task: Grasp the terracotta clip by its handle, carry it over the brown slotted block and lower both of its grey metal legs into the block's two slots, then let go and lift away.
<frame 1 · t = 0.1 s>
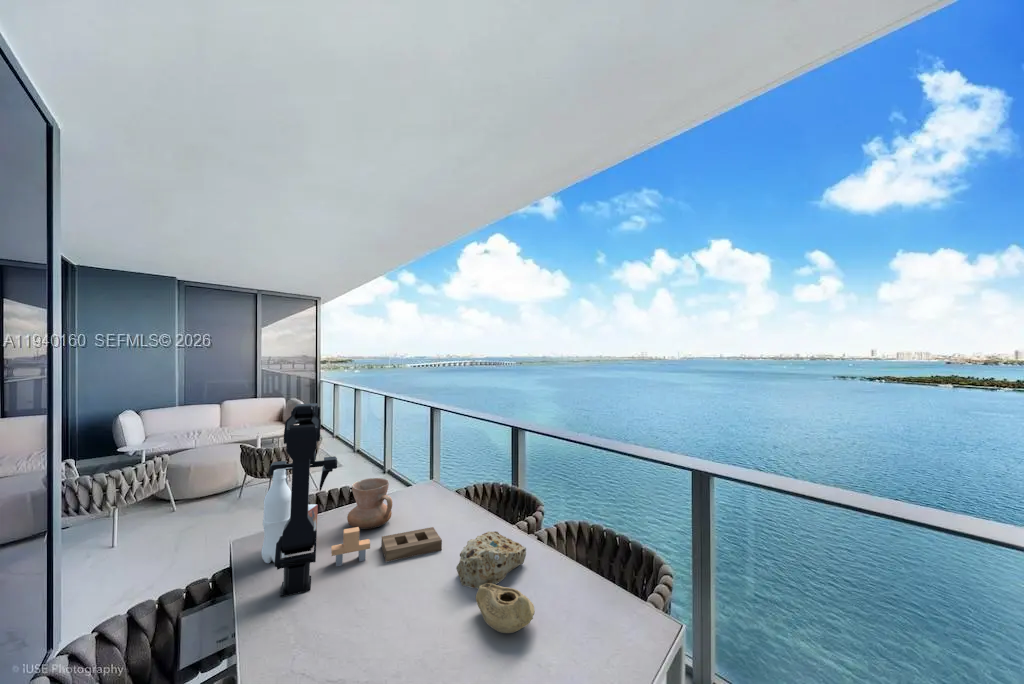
hand: (303, 492, 121), 15 cm above the table, fingers open, 9 cm apart
rock: (491, 572, 104), on the table
water bottle: (276, 559, 109), on the table
ceramic jug: (370, 525, 133), on the table
small box: (301, 543, 119), on the table
oil lamp: (502, 624, 83), on the table
brown slotted block: (411, 548, 116), on the table
clip: (350, 560, 108), on the table
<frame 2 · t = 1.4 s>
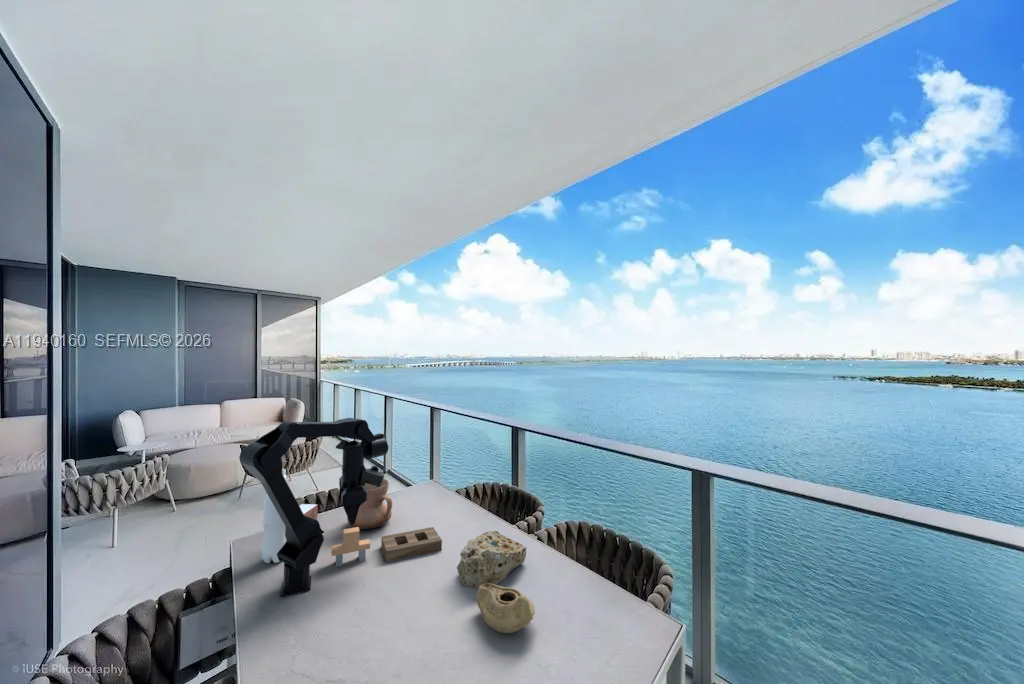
hand: (351, 518, 109), 12 cm above the table, fingers open, 9 cm apart
nothing on the table moved.
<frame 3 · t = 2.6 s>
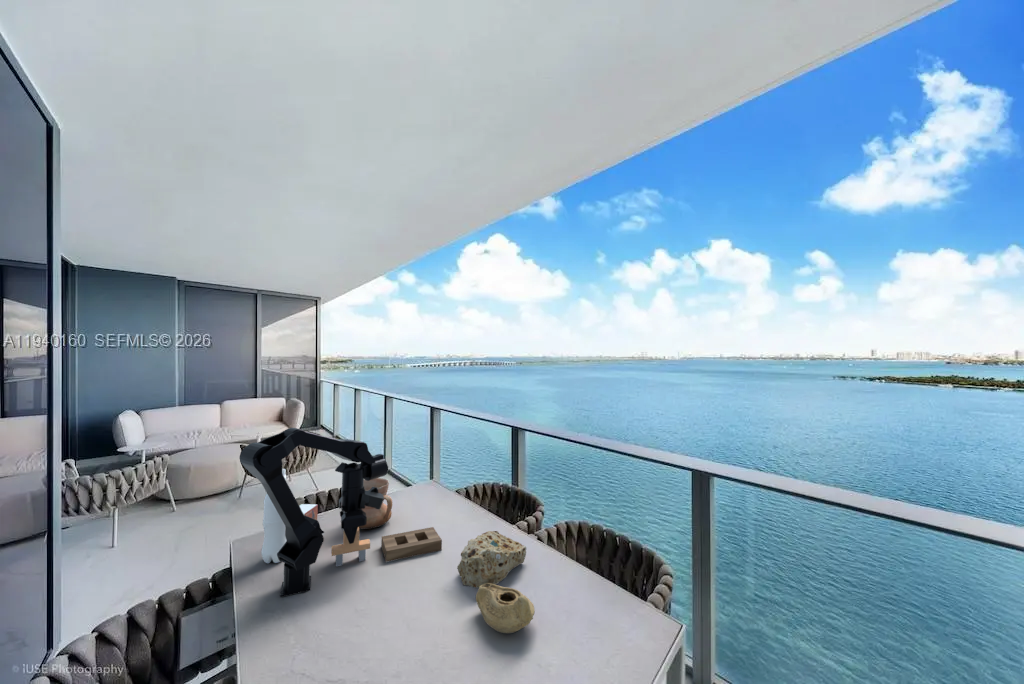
hand: (351, 540, 109), 6 cm above the table, fingers closed on clip, 3 cm apart
clip: (350, 560, 108), on the table, touching gripper
everything else where it was.
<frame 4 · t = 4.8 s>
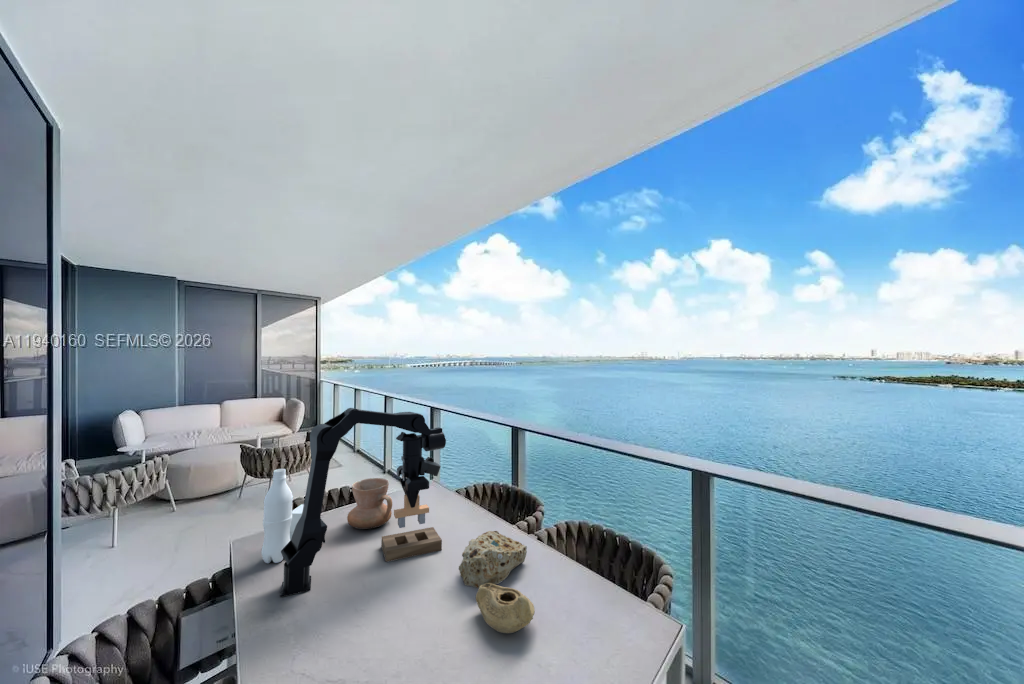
hand: (411, 505, 117), 13 cm above the table, fingers closed on clip, 3 cm apart
clip: (411, 523, 116), point 7 cm above the table, touching gripper
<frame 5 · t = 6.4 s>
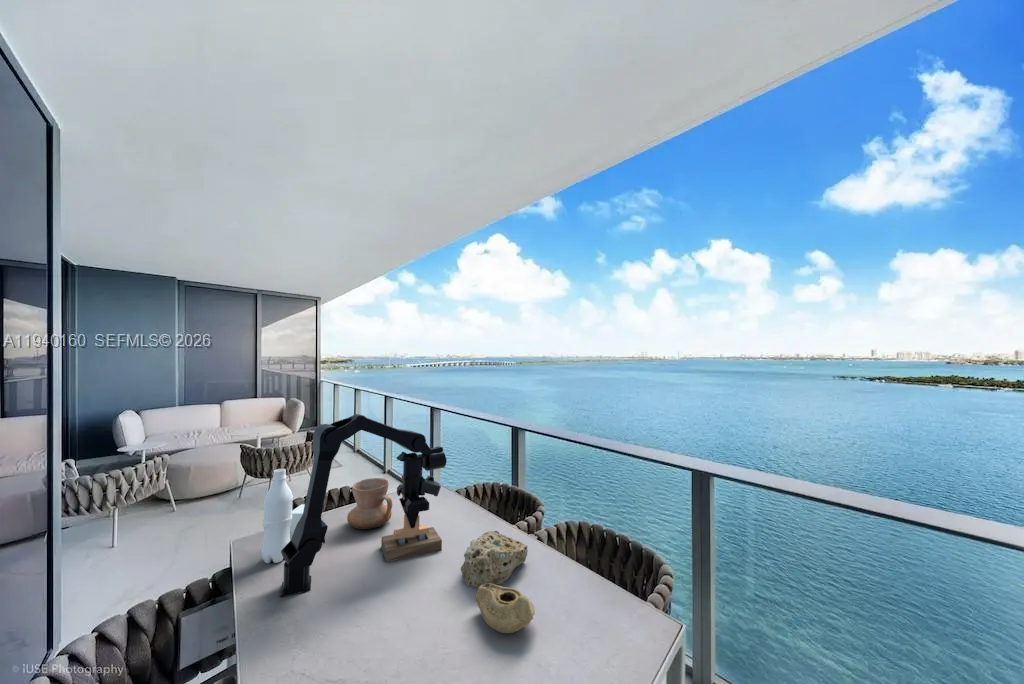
hand: (411, 525, 116), 7 cm above the table, fingers closed on clip, 3 cm apart
clip: (411, 544, 116), point 1 cm above the table, touching gripper
when the fingers open (6 cm above the table, at t = 7.3 s): clip stays where it is, resting on brown slotted block.
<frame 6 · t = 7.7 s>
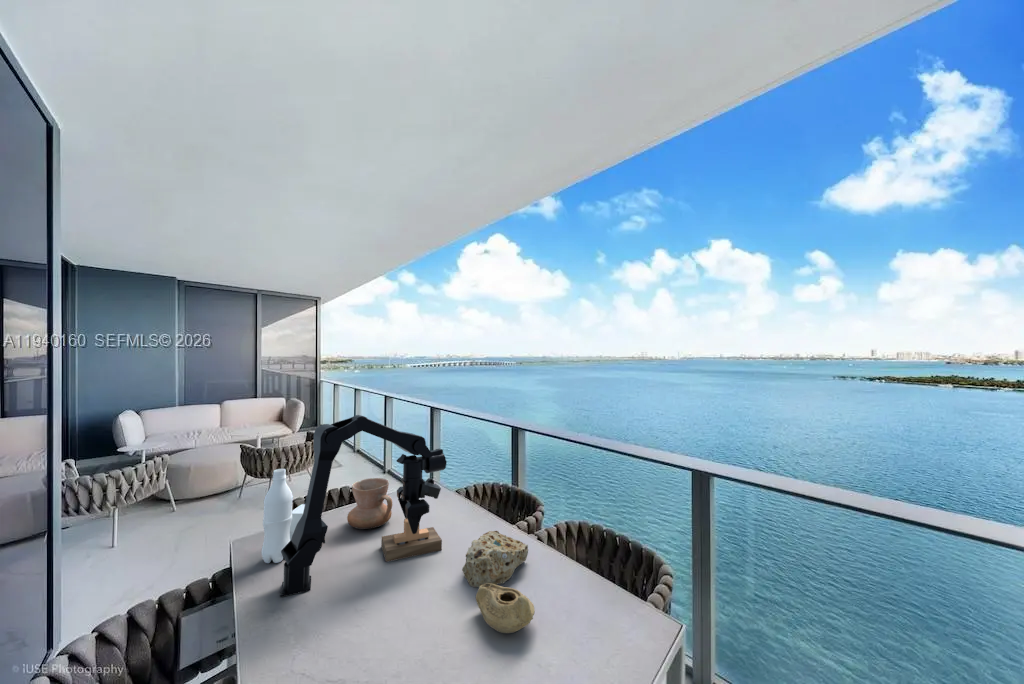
hand: (411, 528, 116), 6 cm above the table, fingers open, 8 cm apart
clip: (411, 548, 116), resting on brown slotted block
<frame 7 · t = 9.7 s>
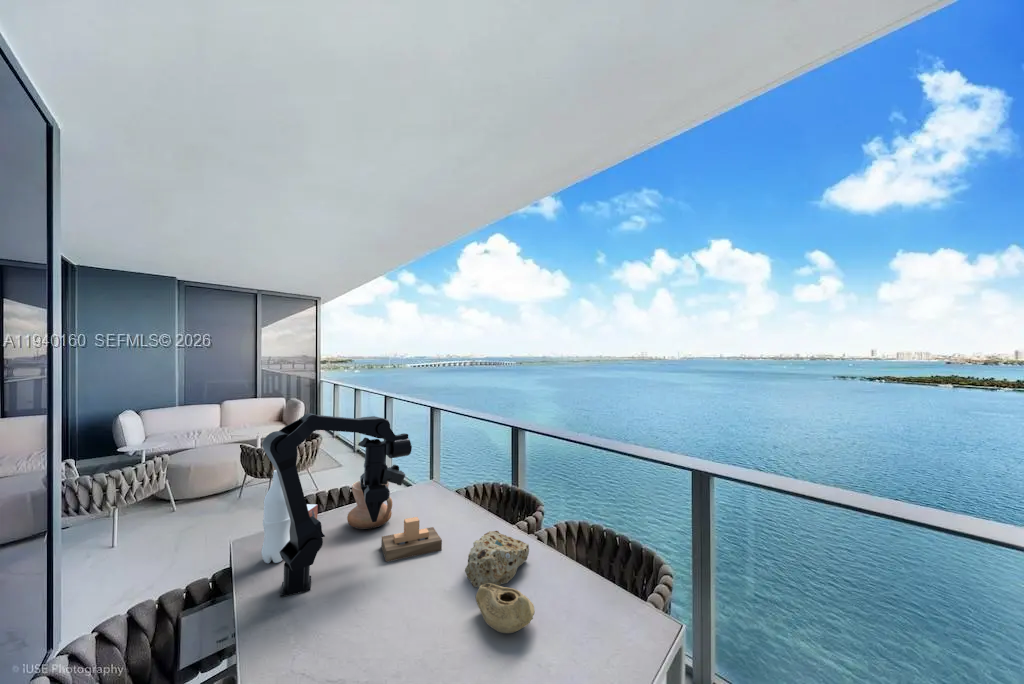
hand: (372, 515, 110), 12 cm above the table, fingers open, 9 cm apart
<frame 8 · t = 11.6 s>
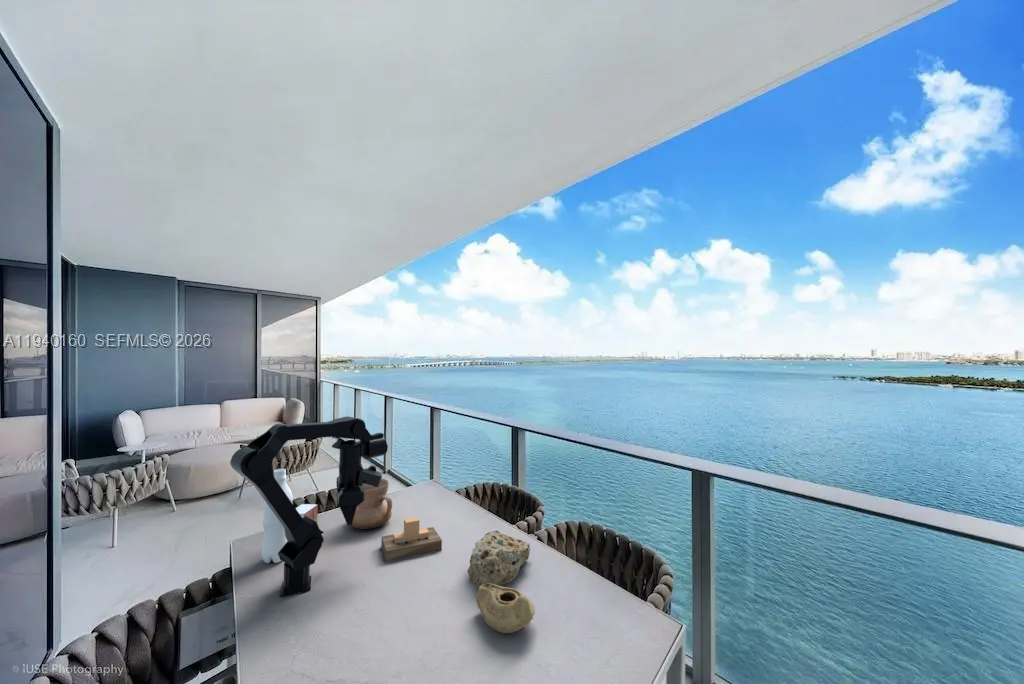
hand: (348, 518, 107), 13 cm above the table, fingers open, 9 cm apart
at the end: clip 0.0 cm off-centre on the brown slotted block, point 0.0 cm above the brown slotted block's base; clip tilted 0°; the gripper is holding nothing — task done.
